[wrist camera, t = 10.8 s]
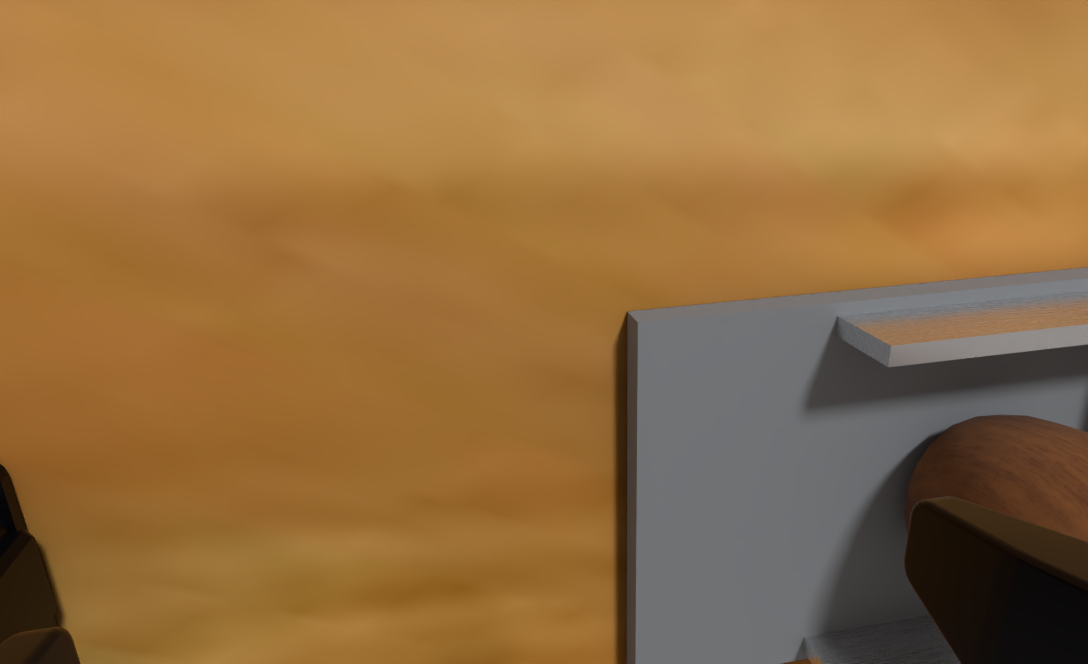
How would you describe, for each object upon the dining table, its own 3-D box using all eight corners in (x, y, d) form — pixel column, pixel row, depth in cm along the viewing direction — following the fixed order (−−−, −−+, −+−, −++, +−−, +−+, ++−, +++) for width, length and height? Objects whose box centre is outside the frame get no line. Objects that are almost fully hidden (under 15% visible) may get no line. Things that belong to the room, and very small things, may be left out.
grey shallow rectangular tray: (626, 667, 26) (660, 754, 22) (627, 311, 21) (669, 355, 18) (1053, 592, 28) (1138, 659, 25) (1133, 263, 24) (1248, 293, 21)
